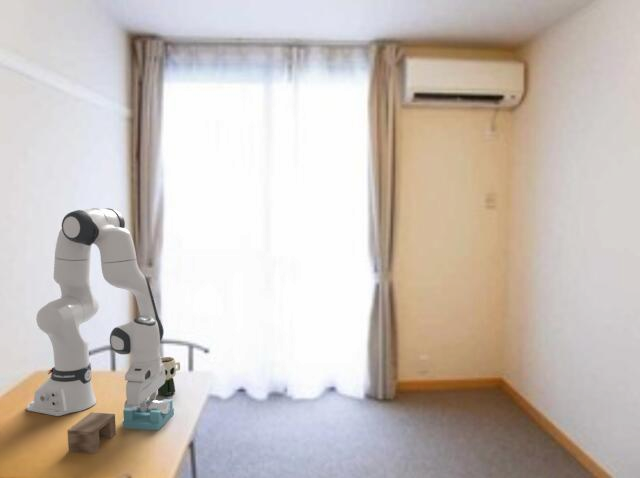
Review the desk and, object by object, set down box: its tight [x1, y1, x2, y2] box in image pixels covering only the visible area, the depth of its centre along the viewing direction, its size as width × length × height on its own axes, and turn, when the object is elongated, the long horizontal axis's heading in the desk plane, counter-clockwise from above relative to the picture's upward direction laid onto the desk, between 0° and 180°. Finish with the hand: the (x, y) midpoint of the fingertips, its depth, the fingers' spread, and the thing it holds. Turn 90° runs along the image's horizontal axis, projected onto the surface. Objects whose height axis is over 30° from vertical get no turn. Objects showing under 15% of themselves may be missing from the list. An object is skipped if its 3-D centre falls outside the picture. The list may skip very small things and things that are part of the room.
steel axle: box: [123, 399, 170, 414], centre depth 173 cm, size 14×4×4 cm, turn 81°
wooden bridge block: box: [66, 412, 117, 454], centre depth 159 cm, size 8×12×6 cm, turn 171°
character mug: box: [157, 356, 181, 396], centre depth 195 cm, size 11×7×13 cm, turn 124°
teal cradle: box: [122, 398, 175, 431], centre depth 173 cm, size 12×12×6 cm
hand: (148, 407), depth 173 cm, fingers closed on steel axle, 4 cm apart
